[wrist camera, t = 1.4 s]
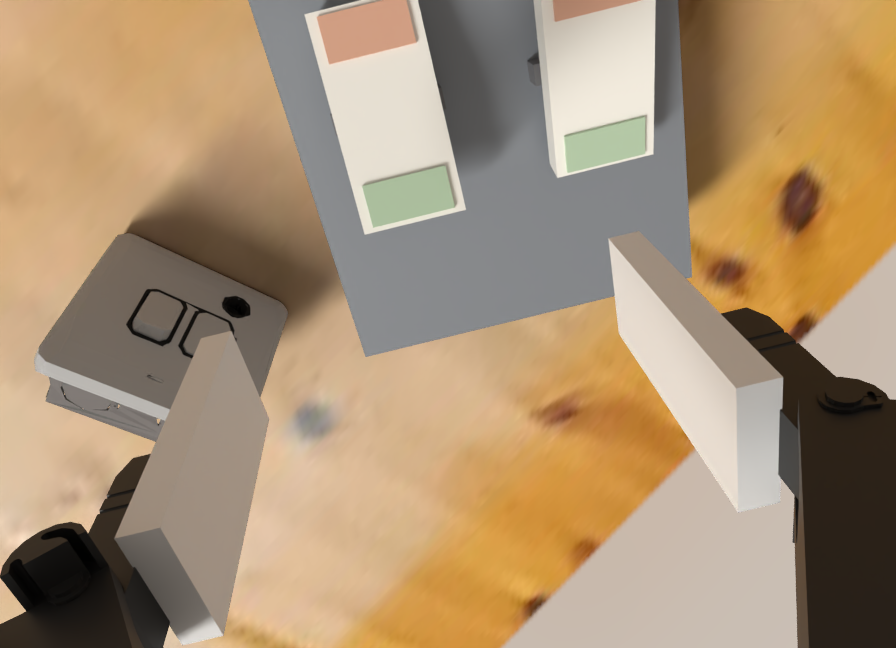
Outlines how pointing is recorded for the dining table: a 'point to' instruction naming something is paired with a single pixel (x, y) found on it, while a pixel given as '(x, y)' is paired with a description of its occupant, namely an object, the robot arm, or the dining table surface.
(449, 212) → the rocker
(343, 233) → the console
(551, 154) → the rocker
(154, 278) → the electrical switch
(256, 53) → the dining table surface
